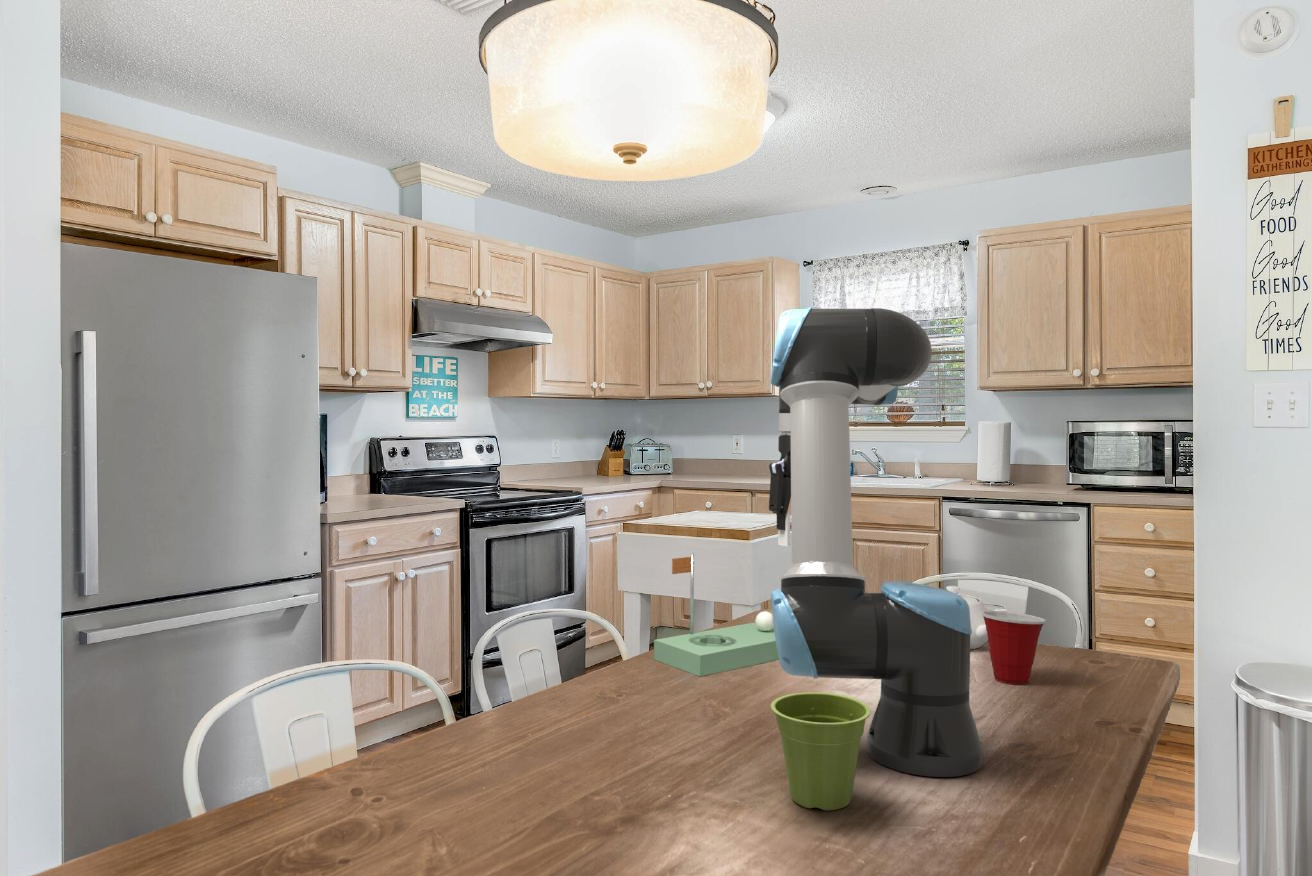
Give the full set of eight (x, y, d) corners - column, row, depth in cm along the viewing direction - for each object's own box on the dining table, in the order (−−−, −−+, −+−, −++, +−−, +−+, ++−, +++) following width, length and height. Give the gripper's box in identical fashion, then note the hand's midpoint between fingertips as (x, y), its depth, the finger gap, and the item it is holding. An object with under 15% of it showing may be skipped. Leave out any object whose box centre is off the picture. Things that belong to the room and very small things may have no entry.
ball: (764, 634, 171) (765, 614, 171) (751, 630, 174) (751, 611, 174) (779, 631, 173) (779, 612, 173) (765, 627, 176) (765, 608, 176)
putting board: (699, 676, 154) (700, 655, 154) (653, 659, 166) (654, 639, 166) (821, 650, 173) (821, 631, 173) (772, 636, 185) (772, 619, 185)
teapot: (885, 637, 186) (885, 581, 186) (934, 628, 194) (935, 574, 194) (980, 665, 164) (981, 601, 164) (1032, 653, 172) (1032, 593, 172)
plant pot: (800, 771, 112) (801, 685, 112) (886, 796, 104) (887, 704, 104) (751, 801, 102) (752, 708, 102) (841, 831, 95) (842, 730, 95)
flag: (673, 637, 167) (673, 556, 167) (670, 637, 168) (671, 556, 168) (694, 634, 170) (694, 554, 170) (691, 633, 171) (692, 553, 171)
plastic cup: (1057, 682, 153) (1058, 615, 153) (1023, 692, 146) (1024, 623, 146) (1002, 668, 161) (1003, 605, 161) (967, 677, 155) (968, 611, 155)
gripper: (776, 434, 170) (775, 550, 170) (841, 434, 181) (839, 543, 181) (750, 433, 176) (749, 545, 176) (814, 434, 187) (813, 539, 187)
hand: (795, 544), depth 179 cm, fingers open, 6 cm apart
